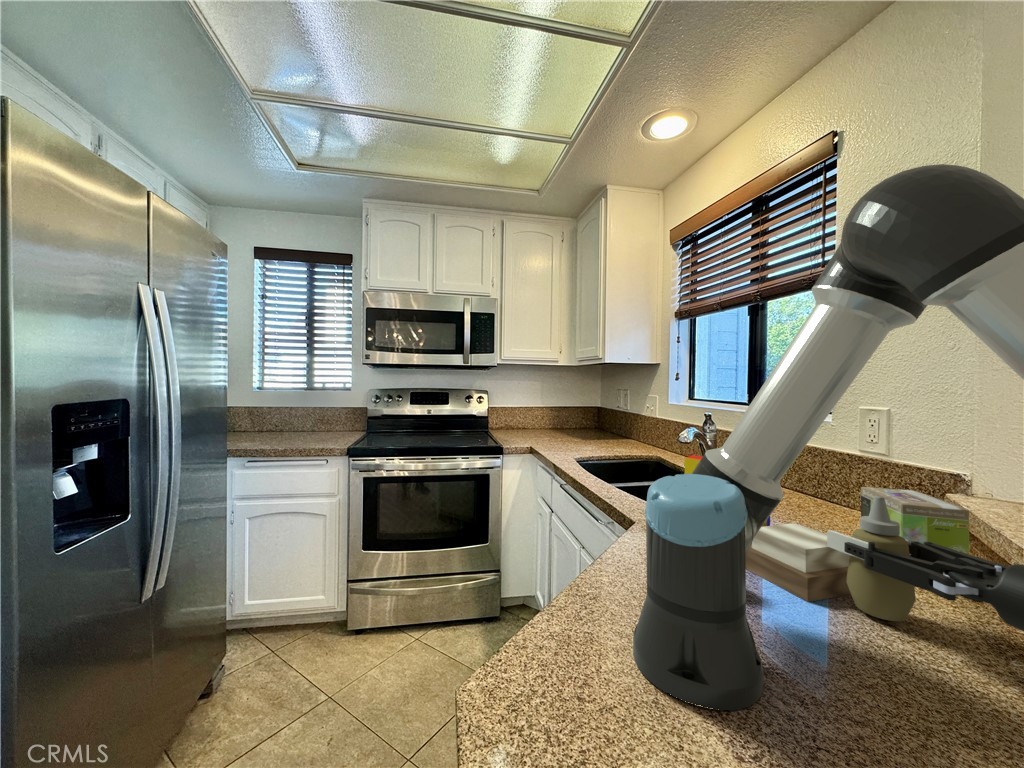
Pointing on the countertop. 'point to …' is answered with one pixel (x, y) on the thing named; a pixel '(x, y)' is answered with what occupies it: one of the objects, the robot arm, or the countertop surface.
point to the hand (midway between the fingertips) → (845, 536)
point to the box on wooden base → (799, 562)
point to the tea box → (922, 517)
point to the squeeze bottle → (872, 587)
